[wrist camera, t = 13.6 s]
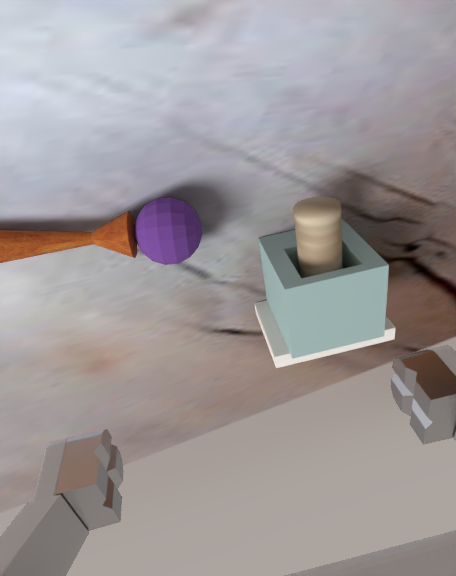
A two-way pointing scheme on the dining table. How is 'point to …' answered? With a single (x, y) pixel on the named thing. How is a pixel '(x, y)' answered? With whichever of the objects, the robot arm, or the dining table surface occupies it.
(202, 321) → the dining table surface
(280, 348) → the slab
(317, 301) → the block
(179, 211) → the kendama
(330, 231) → the dowel
